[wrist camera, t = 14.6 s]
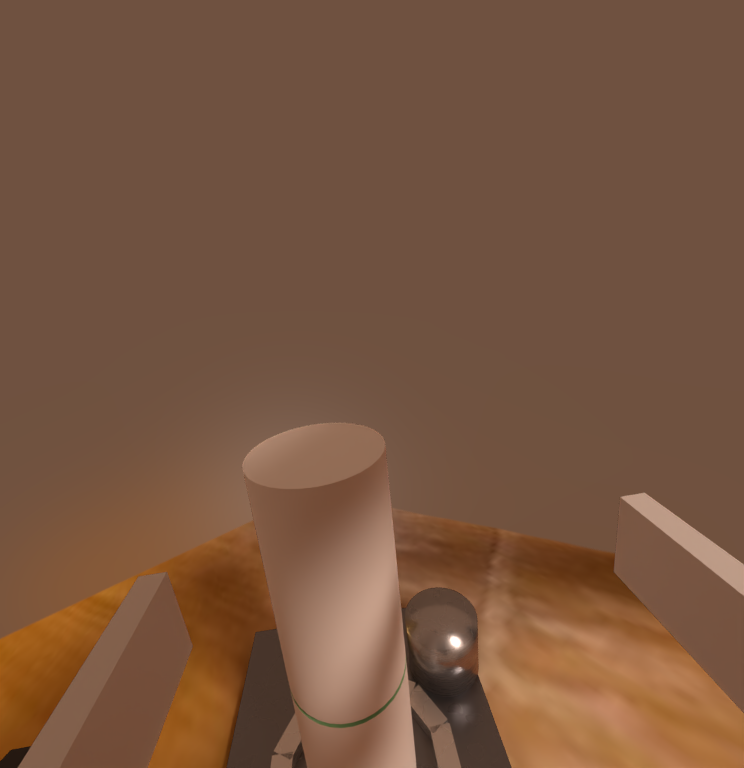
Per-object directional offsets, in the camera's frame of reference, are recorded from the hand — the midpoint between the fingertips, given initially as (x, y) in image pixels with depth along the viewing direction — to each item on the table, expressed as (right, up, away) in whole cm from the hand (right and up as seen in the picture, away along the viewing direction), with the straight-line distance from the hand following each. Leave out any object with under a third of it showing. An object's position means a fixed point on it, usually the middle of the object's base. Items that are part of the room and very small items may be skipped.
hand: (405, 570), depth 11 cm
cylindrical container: (-1, -22, +15) cm, 27 cm away
